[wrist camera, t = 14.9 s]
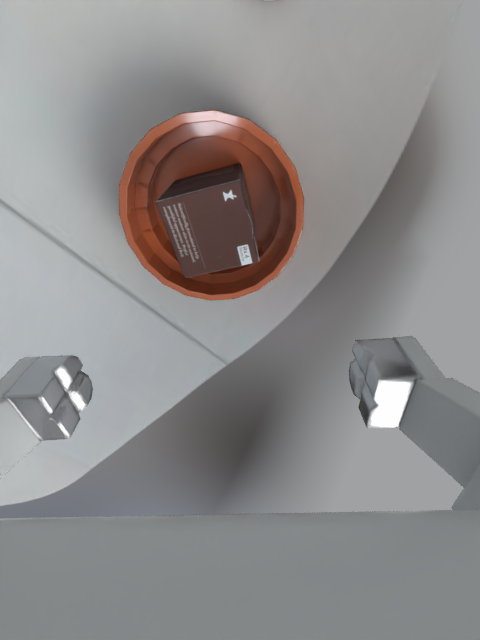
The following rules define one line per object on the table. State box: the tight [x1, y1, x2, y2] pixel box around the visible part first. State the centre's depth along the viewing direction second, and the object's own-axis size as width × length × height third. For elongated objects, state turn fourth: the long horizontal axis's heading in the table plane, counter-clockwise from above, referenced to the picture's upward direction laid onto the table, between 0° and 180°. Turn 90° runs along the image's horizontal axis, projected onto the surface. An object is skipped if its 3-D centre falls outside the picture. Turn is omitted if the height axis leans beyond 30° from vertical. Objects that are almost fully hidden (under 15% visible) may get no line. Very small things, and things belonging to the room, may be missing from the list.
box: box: [156, 163, 260, 278], centre depth 24 cm, size 6×6×7 cm
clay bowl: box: [119, 110, 304, 300], centre depth 25 cm, size 14×14×5 cm
